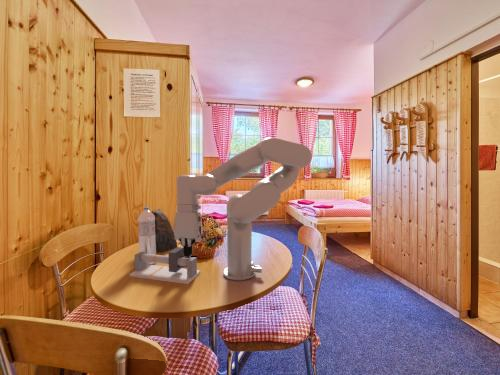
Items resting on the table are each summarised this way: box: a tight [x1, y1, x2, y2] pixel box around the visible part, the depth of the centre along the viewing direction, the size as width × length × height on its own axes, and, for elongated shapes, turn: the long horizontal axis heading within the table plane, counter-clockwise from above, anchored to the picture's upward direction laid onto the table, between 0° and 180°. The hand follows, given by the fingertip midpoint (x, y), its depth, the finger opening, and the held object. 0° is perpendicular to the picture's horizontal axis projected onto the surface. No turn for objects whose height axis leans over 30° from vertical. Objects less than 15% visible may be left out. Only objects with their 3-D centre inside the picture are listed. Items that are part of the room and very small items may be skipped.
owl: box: [151, 208, 178, 254], centre depth 129 cm, size 13×13×20 cm
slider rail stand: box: [129, 252, 201, 285], centre depth 98 cm, size 25×10×8 cm, turn 76°
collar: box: [167, 246, 185, 272], centre depth 96 cm, size 3×6×8 cm, turn 165°
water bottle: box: [137, 206, 157, 265], centre depth 108 cm, size 7×7×25 cm
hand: (188, 255), depth 95 cm, fingers closed
